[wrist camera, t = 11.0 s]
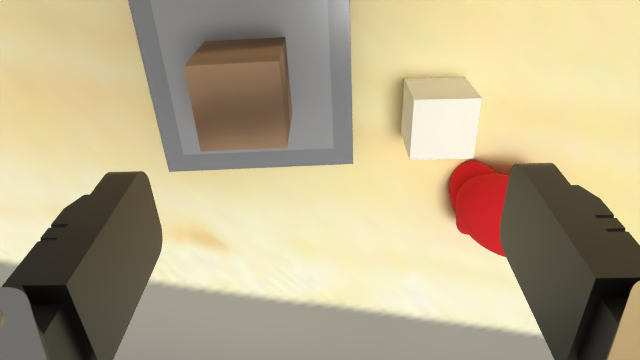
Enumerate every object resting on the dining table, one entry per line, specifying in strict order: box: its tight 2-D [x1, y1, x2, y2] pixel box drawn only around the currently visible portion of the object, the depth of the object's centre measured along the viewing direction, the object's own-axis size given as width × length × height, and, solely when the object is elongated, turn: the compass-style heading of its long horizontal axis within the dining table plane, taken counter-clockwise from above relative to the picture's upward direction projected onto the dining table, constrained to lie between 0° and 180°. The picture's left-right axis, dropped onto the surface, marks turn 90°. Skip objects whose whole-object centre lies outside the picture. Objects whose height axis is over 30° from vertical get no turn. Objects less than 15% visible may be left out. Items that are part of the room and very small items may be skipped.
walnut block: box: [184, 37, 292, 152], centre depth 29 cm, size 5×5×5 cm
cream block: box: [401, 77, 482, 160], centre depth 32 cm, size 4×4×4 cm
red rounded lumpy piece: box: [450, 161, 509, 257], centre depth 34 cm, size 8×6×6 cm
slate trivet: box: [128, 0, 353, 172], centre depth 31 cm, size 13×13×1 cm
